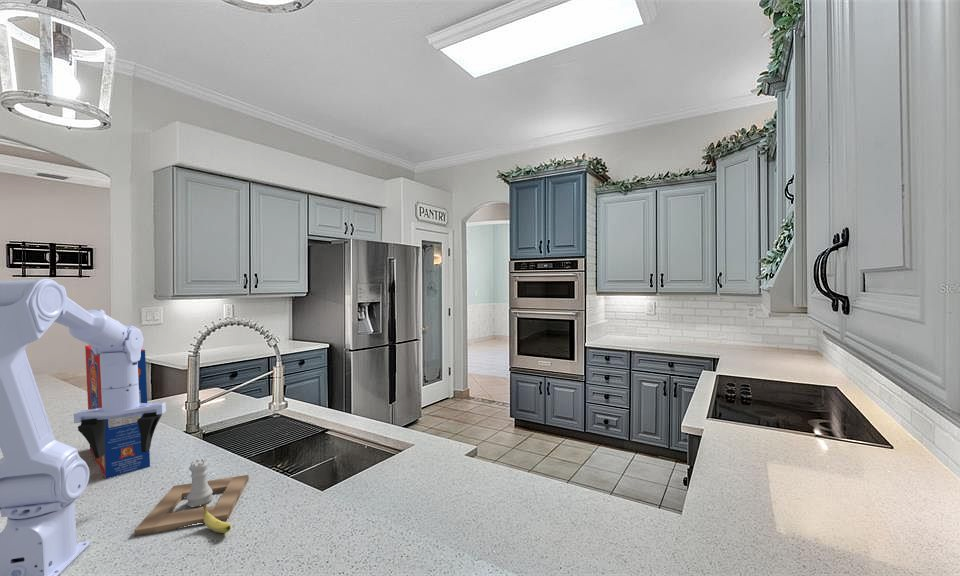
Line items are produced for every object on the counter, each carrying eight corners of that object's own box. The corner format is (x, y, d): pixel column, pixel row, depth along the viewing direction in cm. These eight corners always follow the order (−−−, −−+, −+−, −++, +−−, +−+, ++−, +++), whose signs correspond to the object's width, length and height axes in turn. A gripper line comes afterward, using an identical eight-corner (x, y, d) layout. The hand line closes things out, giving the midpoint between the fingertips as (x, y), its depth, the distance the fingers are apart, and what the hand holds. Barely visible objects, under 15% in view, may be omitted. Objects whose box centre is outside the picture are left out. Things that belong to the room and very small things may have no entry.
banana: (198, 528, 74) (197, 505, 74) (208, 523, 76) (207, 500, 76) (225, 540, 70) (224, 516, 70) (235, 535, 72) (234, 511, 72)
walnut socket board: (227, 519, 77) (227, 514, 77) (134, 536, 72) (134, 530, 72) (248, 479, 93) (248, 474, 93) (173, 490, 89) (173, 485, 89)
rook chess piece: (198, 509, 81) (196, 467, 81) (180, 506, 82) (178, 465, 82) (219, 497, 85) (217, 457, 85) (201, 495, 86) (200, 456, 86)
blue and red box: (89, 449, 114) (85, 345, 114) (128, 440, 120) (123, 342, 120) (105, 478, 96) (100, 355, 95) (150, 466, 102) (145, 350, 101)
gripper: (170, 378, 91) (173, 441, 91) (87, 385, 87) (90, 451, 87) (156, 385, 84) (159, 453, 85) (65, 393, 80) (68, 465, 80)
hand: (123, 453), depth 85 cm, fingers open, 7 cm apart
